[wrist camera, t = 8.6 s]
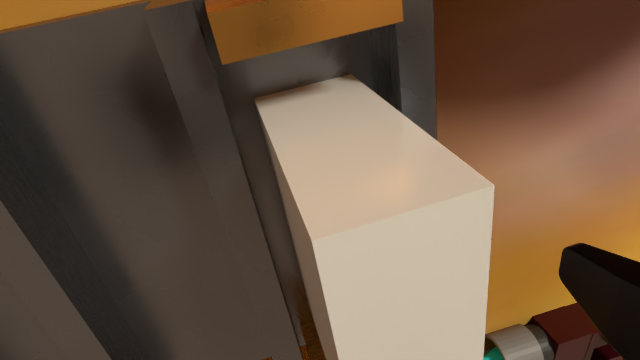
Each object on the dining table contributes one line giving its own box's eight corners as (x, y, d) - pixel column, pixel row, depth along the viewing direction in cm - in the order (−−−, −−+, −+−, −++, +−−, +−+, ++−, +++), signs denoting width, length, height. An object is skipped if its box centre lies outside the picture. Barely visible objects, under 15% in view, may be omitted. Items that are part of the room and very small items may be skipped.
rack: (409, 289, 19) (455, 362, 16) (11, 424, 17) (-35, 544, 13) (380, -51, 12) (455, -53, 8) (-326, 100, 9) (-615, 181, 6)
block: (375, 268, 16) (477, 445, 11) (304, 291, 16) (368, 489, 10) (351, 74, 12) (494, 185, 6) (253, 98, 12) (311, 240, 6)
